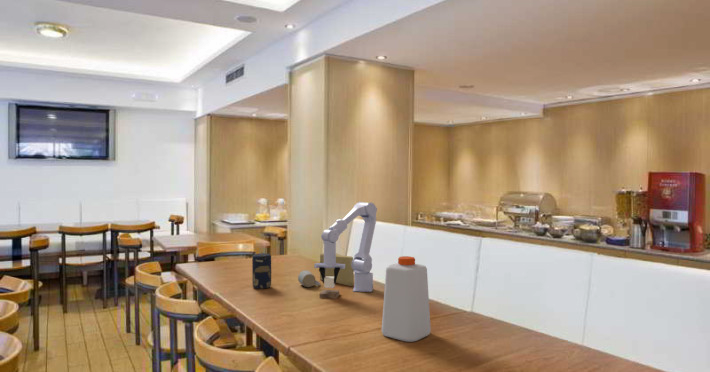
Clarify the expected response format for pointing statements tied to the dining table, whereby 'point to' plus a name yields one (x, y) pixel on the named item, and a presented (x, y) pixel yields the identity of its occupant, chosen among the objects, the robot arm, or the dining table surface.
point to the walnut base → (329, 294)
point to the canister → (261, 270)
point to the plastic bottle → (406, 301)
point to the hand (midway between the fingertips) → (329, 283)
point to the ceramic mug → (307, 279)
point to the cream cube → (329, 282)
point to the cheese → (341, 270)
